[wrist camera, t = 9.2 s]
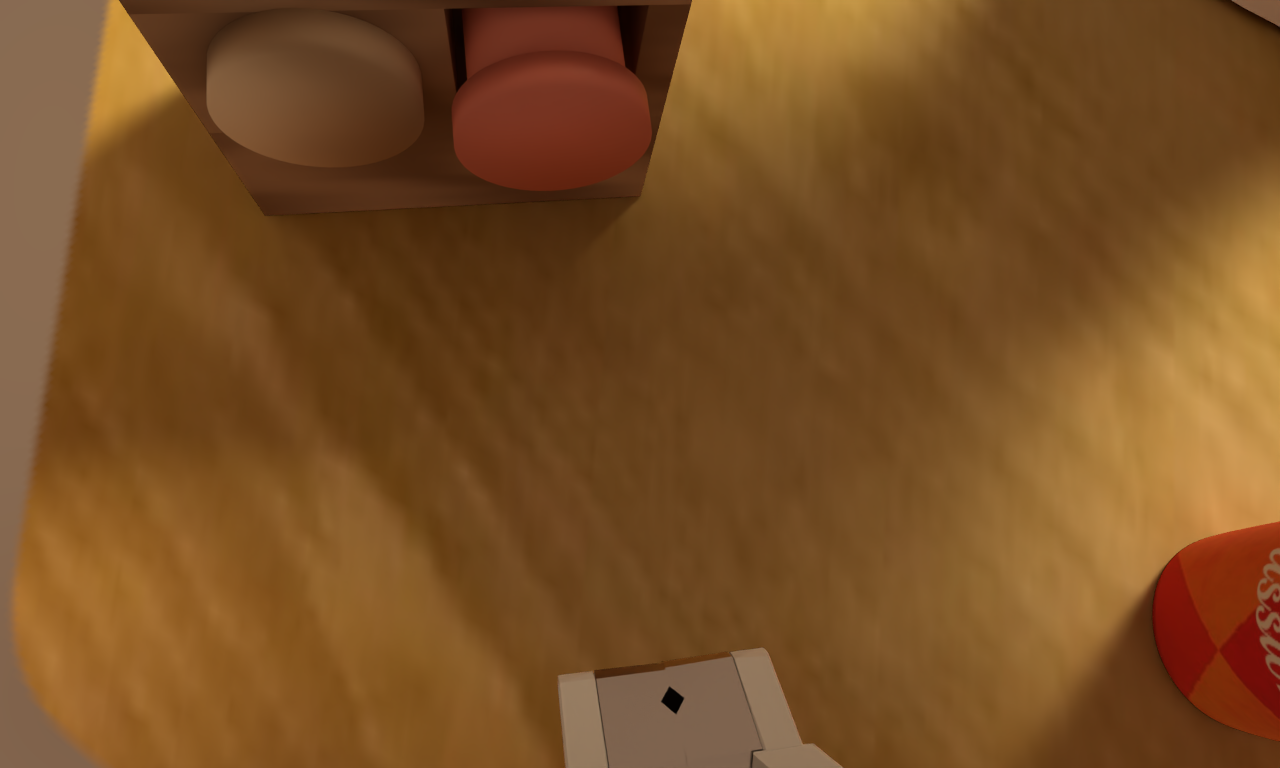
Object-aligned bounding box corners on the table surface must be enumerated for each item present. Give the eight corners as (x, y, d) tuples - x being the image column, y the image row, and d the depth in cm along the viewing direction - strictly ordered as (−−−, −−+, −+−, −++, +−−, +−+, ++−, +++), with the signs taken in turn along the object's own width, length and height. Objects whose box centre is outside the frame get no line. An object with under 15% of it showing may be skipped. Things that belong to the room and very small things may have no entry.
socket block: (618, 28, 27) (672, -335, 17) (644, 225, 26) (722, -40, 15) (262, 36, 26) (76, -361, 15) (265, 247, 24) (58, -34, 14)
